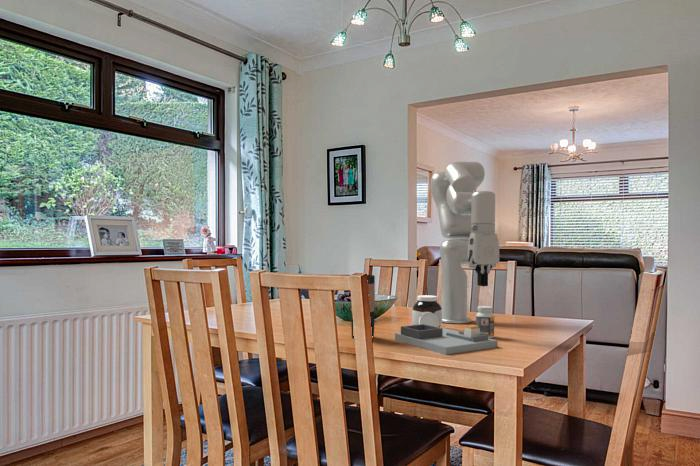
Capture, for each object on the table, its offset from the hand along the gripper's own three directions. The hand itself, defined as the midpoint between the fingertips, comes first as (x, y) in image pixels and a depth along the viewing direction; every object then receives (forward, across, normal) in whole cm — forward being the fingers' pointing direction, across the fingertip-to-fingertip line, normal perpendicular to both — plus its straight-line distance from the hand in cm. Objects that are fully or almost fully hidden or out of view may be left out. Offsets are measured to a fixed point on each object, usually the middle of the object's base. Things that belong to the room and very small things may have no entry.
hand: (482, 285), depth 171 cm
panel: (+17, -17, -2) cm, 24 cm away
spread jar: (+17, -8, +18) cm, 26 cm away
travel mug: (+17, -35, +17) cm, 42 cm away
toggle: (+14, -12, -8) cm, 20 cm away
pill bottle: (+17, +1, 0) cm, 17 cm away
